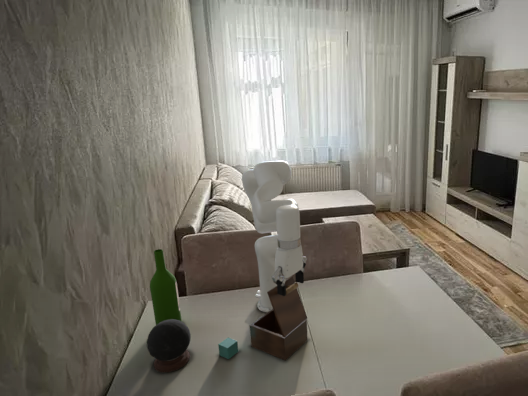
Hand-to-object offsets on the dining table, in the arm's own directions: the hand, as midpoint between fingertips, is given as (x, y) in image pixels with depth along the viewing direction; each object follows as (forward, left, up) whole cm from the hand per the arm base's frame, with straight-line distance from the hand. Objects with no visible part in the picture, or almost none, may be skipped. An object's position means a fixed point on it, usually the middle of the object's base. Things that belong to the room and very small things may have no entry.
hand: (291, 288), depth 131 cm
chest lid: (-2, 0, -7) cm, 7 cm away
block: (-18, -13, -24) cm, 33 cm away
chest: (-6, 0, -24) cm, 25 cm away
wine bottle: (-50, -13, -24) cm, 57 cm away
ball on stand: (-32, -25, -24) cm, 48 cm away
